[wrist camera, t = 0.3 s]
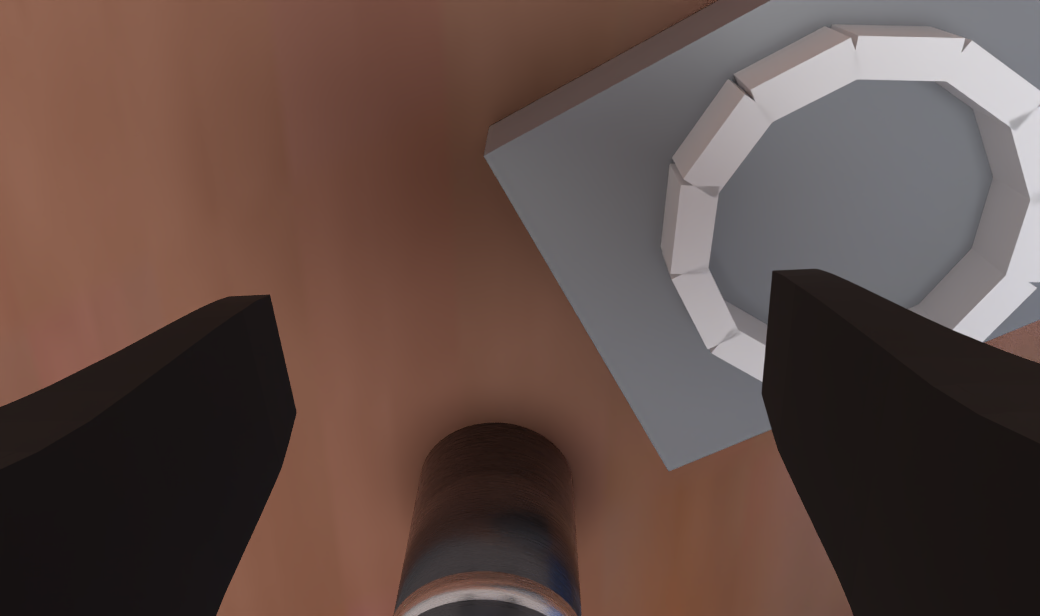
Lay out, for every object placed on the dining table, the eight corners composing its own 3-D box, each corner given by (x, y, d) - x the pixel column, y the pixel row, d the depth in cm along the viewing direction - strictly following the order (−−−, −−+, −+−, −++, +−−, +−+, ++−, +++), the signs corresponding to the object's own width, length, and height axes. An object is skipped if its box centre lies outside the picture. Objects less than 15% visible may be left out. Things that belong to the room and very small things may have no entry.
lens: (600, 509, 26) (622, 706, 19) (469, 563, 27) (449, 765, 21) (527, 397, 24) (525, 576, 17) (388, 460, 25) (340, 649, 19)
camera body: (1112, 222, 21) (1230, 289, 17) (656, 417, 24) (677, 509, 20) (1022, -167, 17) (1152, -183, 13) (489, 126, 20) (479, 177, 16)
